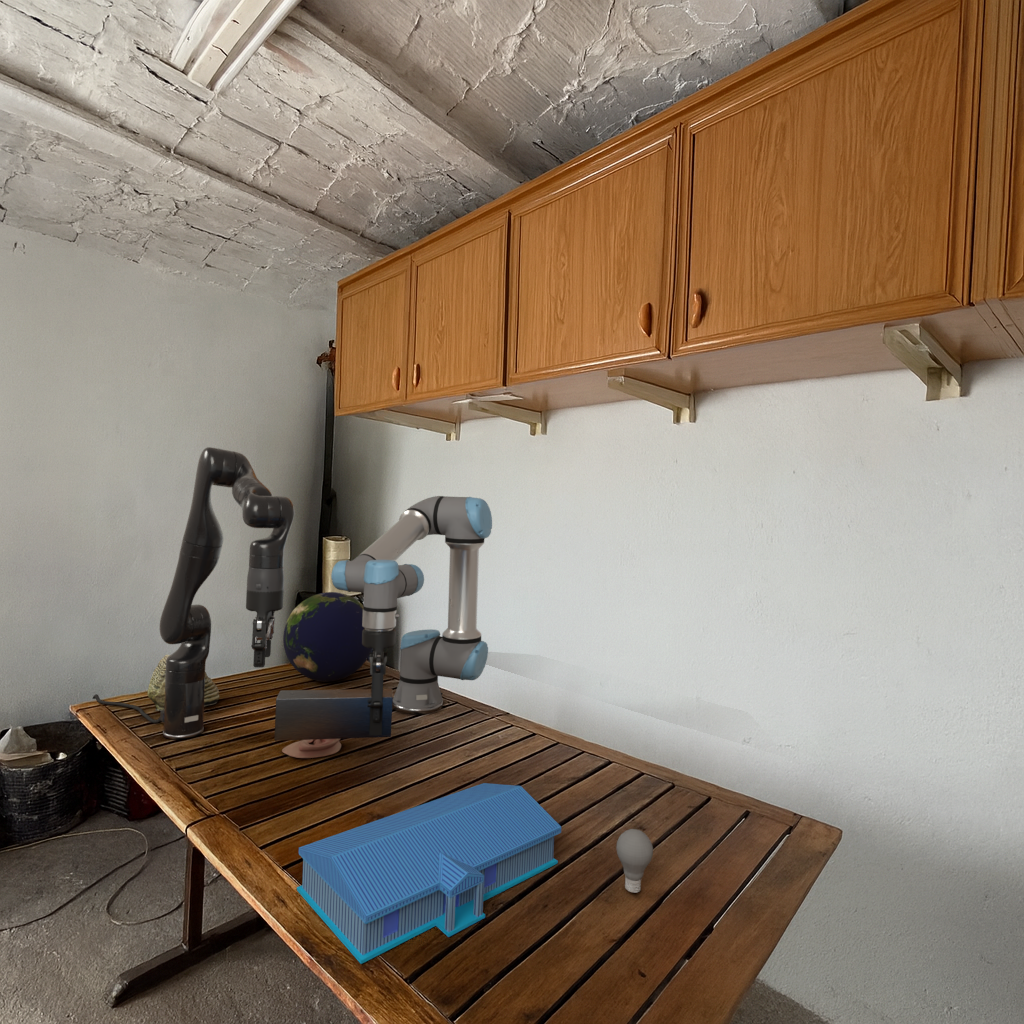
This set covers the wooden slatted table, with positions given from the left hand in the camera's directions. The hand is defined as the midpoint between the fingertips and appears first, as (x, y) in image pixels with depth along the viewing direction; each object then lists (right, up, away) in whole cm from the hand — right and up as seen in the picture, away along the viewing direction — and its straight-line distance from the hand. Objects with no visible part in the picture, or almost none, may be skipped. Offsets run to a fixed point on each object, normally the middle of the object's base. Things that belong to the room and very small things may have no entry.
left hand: (262, 661), depth 138 cm
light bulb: (+75, -31, -32) cm, 87 cm away
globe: (-9, -25, +79) cm, 83 cm away
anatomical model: (+5, -27, +20) cm, 34 cm away
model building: (+42, -29, -32) cm, 60 cm away
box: (+14, -17, +5) cm, 23 cm away
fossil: (-42, -24, +47) cm, 67 cm away
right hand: (+23, -17, +6) cm, 29 cm away
